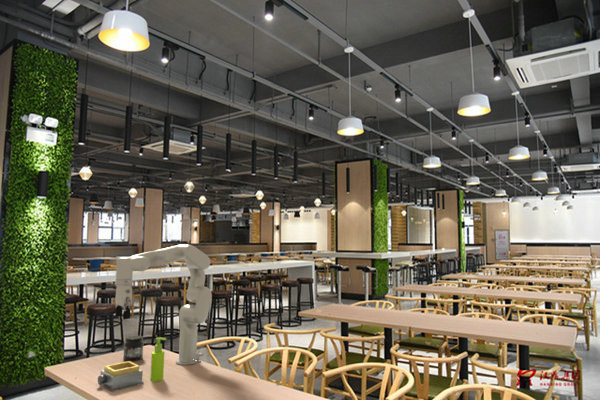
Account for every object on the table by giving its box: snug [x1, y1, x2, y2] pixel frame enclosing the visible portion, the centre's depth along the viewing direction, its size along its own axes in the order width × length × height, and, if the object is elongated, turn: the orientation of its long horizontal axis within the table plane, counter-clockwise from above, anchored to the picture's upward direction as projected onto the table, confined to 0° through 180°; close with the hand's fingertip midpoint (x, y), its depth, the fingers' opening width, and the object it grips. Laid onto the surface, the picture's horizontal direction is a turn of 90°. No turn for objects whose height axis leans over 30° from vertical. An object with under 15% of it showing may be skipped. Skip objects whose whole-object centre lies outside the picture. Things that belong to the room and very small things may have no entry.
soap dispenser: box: [150, 337, 167, 383], centre depth 203 cm, size 6×7×20 cm
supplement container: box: [123, 335, 144, 362], centre depth 237 cm, size 10×10×12 cm
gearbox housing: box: [97, 361, 144, 392], centre depth 195 cm, size 17×15×8 cm
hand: (122, 317), depth 203 cm, fingers open, 9 cm apart
